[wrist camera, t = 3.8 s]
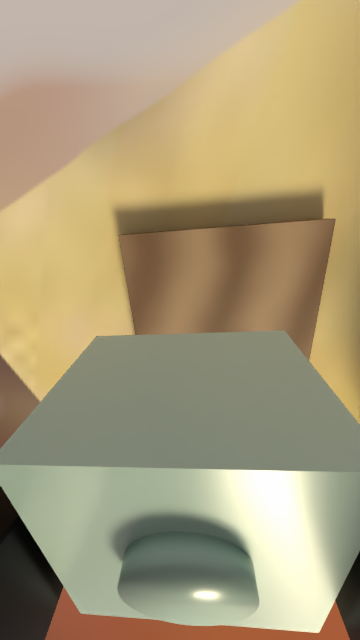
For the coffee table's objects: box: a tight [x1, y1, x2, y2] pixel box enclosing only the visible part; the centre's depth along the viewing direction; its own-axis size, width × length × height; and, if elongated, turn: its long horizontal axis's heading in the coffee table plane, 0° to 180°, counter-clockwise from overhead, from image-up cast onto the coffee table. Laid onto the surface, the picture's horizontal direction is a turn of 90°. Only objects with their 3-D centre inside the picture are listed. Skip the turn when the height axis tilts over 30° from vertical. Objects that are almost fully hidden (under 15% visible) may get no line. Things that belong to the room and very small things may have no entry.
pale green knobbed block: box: [0, 330, 360, 633], centre depth 6 cm, size 6×6×4 cm
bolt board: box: [119, 219, 336, 360], centre depth 18 cm, size 14×18×4 cm
